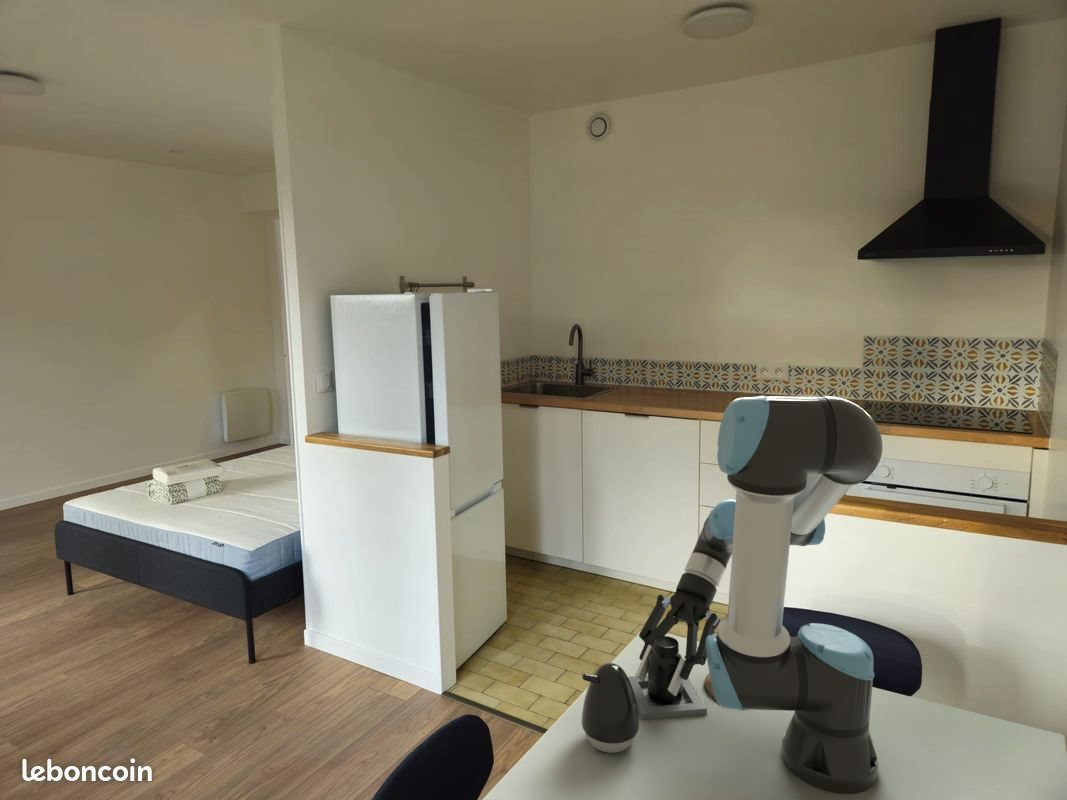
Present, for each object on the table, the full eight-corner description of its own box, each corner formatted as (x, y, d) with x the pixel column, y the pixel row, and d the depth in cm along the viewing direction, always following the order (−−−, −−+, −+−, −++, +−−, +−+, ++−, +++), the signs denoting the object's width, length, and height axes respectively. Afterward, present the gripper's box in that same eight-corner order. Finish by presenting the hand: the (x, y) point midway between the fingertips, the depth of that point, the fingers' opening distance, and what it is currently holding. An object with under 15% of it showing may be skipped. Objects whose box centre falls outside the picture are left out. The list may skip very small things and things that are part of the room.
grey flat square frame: (706, 714, 133) (707, 708, 132) (642, 719, 131) (642, 714, 131) (684, 677, 145) (685, 672, 145) (626, 682, 143) (626, 677, 143)
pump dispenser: (572, 731, 128) (572, 655, 125) (624, 720, 131) (624, 646, 128) (593, 767, 118) (593, 686, 116) (648, 754, 121) (650, 675, 119)
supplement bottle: (682, 709, 134) (683, 652, 132) (646, 706, 135) (647, 649, 133) (682, 689, 141) (683, 634, 139) (648, 686, 142) (649, 631, 140)
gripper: (750, 602, 139) (707, 712, 130) (666, 575, 153) (621, 673, 144) (738, 585, 135) (693, 699, 126) (653, 559, 148) (606, 660, 139)
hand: (655, 685), depth 135 cm, fingers closed on supplement bottle, 7 cm apart
